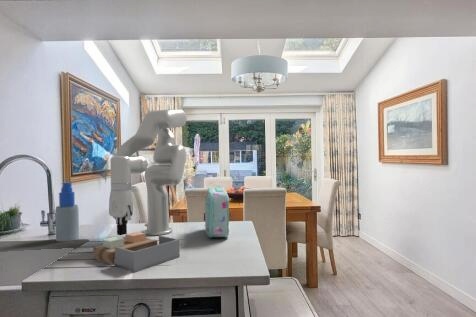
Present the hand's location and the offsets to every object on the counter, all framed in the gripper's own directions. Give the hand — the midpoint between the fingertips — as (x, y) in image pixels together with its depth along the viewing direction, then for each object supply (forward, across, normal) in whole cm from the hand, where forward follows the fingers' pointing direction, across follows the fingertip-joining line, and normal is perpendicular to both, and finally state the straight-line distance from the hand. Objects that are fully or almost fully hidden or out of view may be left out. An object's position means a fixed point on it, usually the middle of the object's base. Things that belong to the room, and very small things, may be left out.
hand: (122, 234), depth 120 cm
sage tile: (+1, +9, -9) cm, 13 cm away
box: (+5, +22, -4) cm, 23 cm away
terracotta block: (+1, +9, 0) cm, 9 cm away
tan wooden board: (+5, +10, -4) cm, 12 cm away
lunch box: (+5, +16, +38) cm, 41 cm away
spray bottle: (+5, -34, -6) cm, 35 cm away
